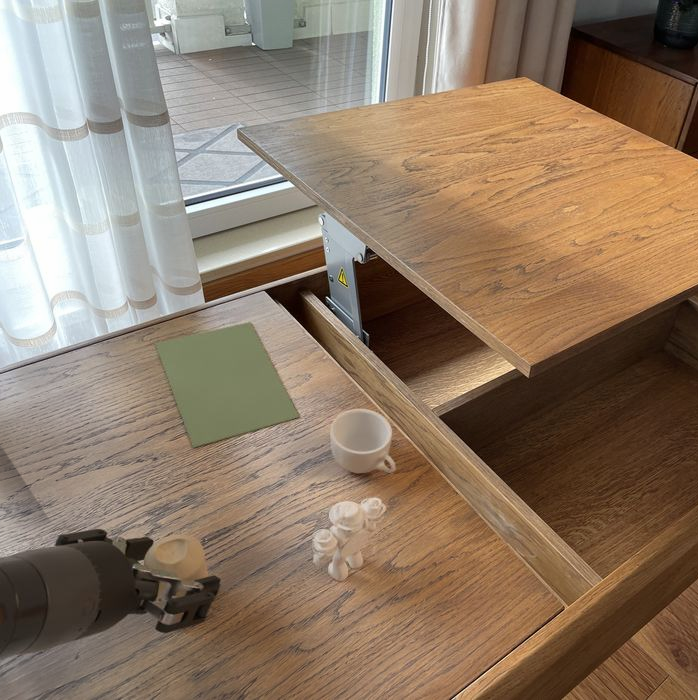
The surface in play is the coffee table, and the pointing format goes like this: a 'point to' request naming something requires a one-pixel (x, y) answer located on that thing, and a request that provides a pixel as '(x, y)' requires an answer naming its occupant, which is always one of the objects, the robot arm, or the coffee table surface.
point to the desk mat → (224, 384)
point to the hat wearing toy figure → (346, 535)
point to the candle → (177, 559)
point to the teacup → (361, 441)
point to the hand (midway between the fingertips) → (180, 566)
